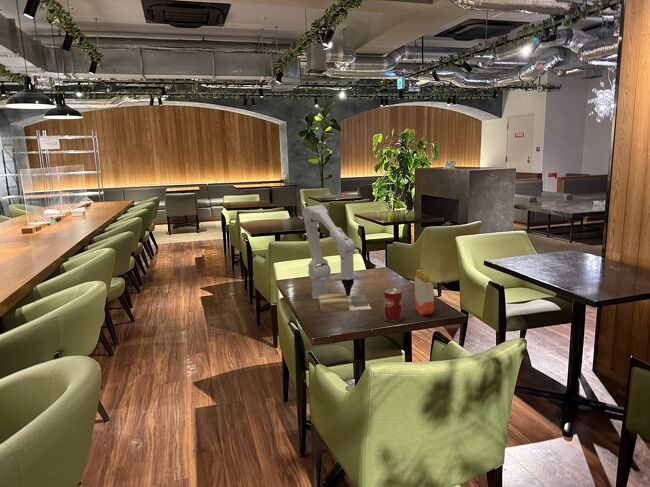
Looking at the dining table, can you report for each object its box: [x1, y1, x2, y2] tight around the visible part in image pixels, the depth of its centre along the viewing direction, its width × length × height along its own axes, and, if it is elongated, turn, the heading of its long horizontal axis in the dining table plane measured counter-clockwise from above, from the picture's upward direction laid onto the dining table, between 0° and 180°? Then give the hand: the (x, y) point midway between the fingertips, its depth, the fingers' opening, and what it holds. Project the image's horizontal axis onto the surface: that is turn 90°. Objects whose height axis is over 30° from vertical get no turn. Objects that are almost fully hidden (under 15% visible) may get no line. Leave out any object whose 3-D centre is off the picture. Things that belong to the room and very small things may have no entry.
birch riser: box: [317, 292, 350, 313], centre depth 220 cm, size 14×12×4 cm
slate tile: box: [350, 294, 369, 307], centre depth 221 cm, size 9×6×2 cm, turn 7°
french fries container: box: [414, 269, 435, 316], centre depth 206 cm, size 5×11×18 cm, turn 11°
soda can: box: [383, 288, 403, 323], centre depth 200 cm, size 7×7×12 cm
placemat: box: [347, 298, 372, 312], centre depth 222 cm, size 16×10×1 cm, turn 7°
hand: (347, 295), depth 220 cm, fingers closed
